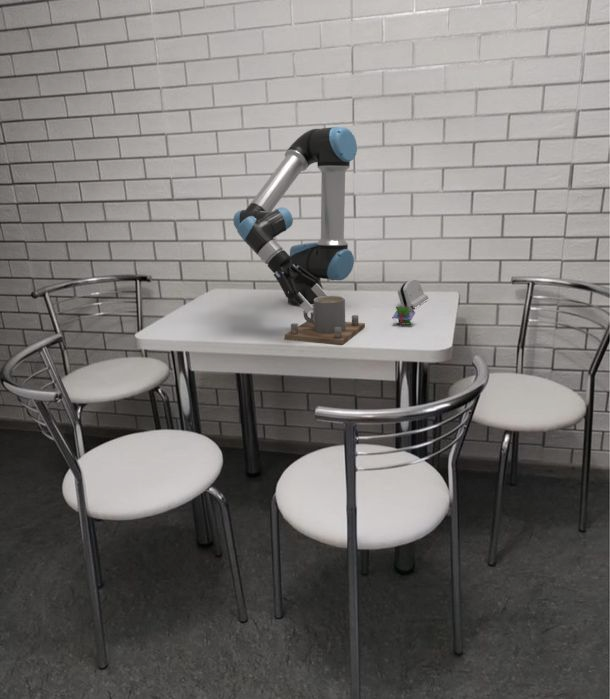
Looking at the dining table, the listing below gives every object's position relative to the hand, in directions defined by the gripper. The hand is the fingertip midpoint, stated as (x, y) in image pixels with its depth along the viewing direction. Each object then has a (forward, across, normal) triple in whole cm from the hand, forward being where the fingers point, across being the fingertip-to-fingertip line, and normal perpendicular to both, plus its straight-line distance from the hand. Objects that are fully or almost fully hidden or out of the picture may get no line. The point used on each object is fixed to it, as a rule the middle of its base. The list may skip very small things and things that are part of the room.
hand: (319, 305), depth 195 cm
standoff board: (+8, -1, -5) cm, 10 cm away
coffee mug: (+7, -1, -5) cm, 8 cm away
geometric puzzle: (+23, -18, +10) cm, 31 cm away
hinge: (+20, -47, +6) cm, 51 cm away
